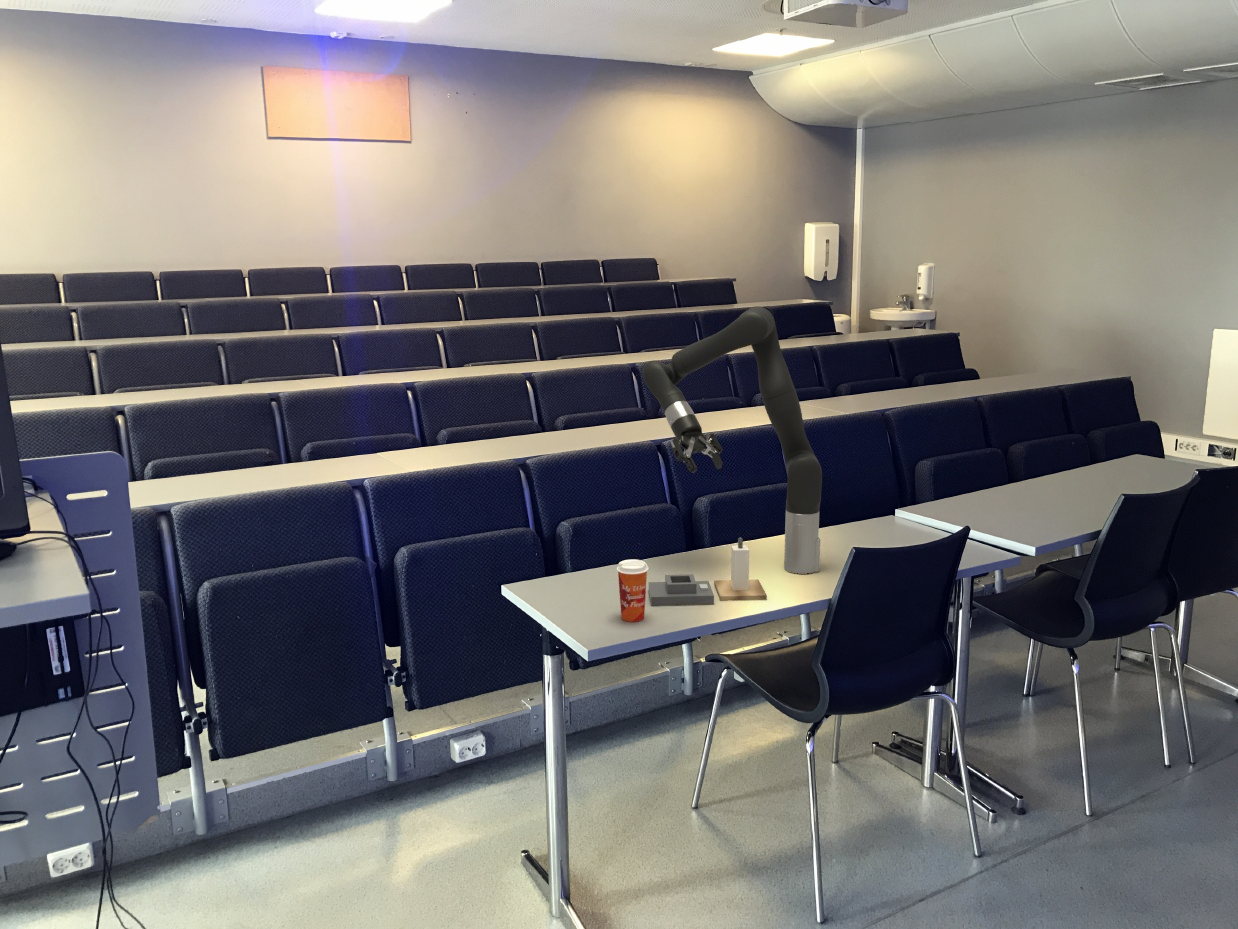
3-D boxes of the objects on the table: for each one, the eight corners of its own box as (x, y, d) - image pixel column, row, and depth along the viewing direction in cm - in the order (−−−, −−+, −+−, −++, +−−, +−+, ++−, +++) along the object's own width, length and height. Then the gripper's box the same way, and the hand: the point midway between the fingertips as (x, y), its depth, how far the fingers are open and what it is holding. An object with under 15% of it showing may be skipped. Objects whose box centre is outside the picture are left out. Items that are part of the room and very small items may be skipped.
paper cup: (620, 625, 225) (620, 570, 222) (614, 613, 232) (613, 559, 229) (652, 622, 226) (651, 567, 223) (645, 610, 234) (644, 557, 231)
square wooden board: (758, 583, 252) (758, 579, 252) (766, 599, 240) (766, 595, 240) (714, 584, 252) (714, 580, 251) (720, 600, 240) (720, 596, 240)
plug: (745, 584, 248) (746, 535, 245) (748, 590, 244) (749, 539, 241) (730, 585, 248) (731, 535, 244) (733, 590, 244) (734, 540, 241)
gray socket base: (708, 589, 248) (708, 571, 247) (713, 604, 237) (714, 586, 236) (648, 590, 248) (648, 572, 246) (651, 606, 237) (651, 587, 236)
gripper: (667, 415, 251) (692, 465, 244) (709, 410, 258) (734, 458, 251) (656, 432, 257) (680, 480, 250) (697, 426, 264) (722, 473, 257)
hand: (707, 469), depth 250 cm, fingers open, 8 cm apart
